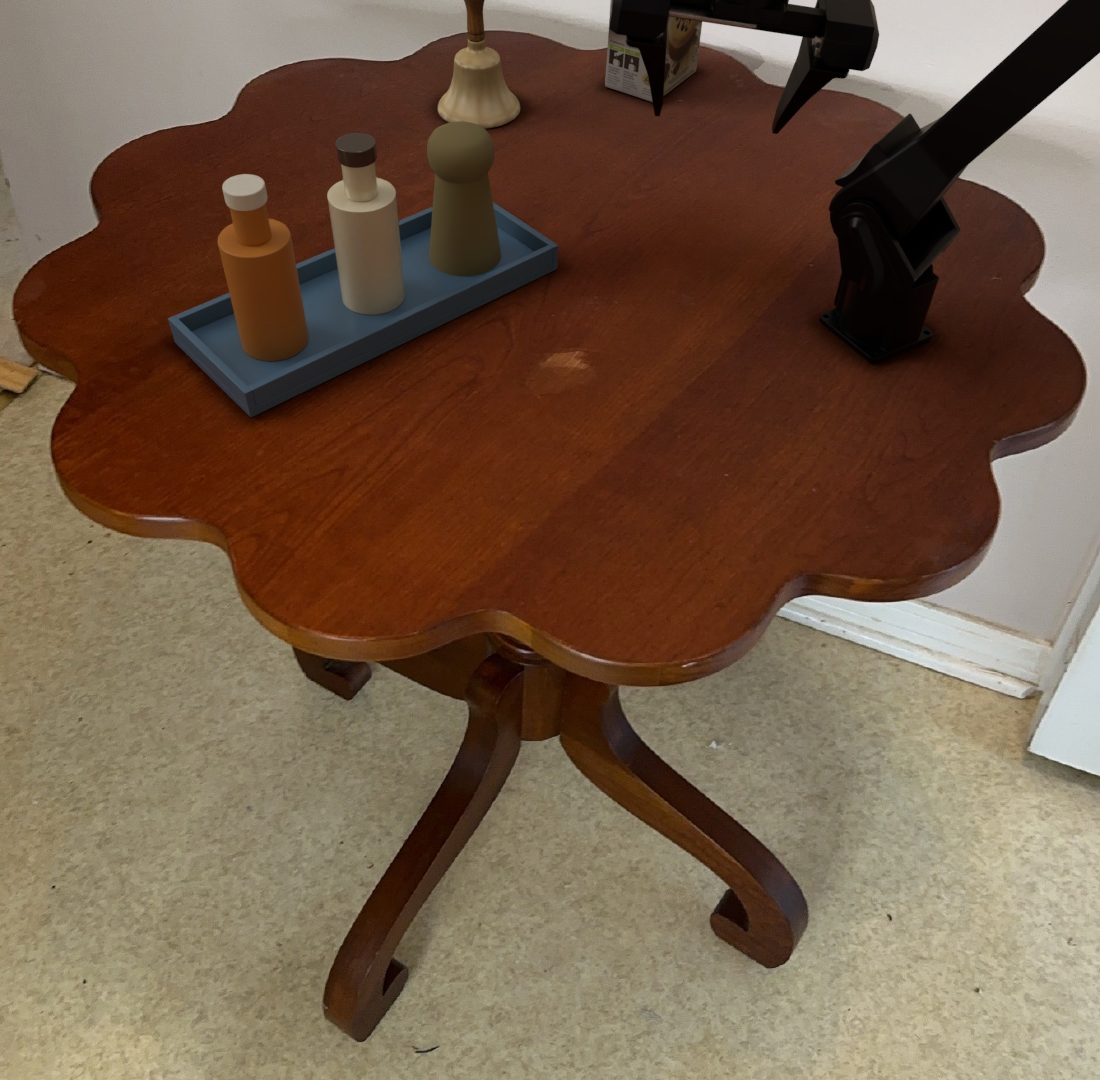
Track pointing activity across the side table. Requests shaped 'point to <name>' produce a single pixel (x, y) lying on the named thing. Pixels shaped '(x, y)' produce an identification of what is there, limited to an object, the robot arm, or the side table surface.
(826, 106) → the side table surface
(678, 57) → the coffee box
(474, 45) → the hand bell
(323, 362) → the tray
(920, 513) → the side table surface
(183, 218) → the side table surface
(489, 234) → the olive pawn piece
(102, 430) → the side table surface
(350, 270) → the cream bottle
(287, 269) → the amber bottle
